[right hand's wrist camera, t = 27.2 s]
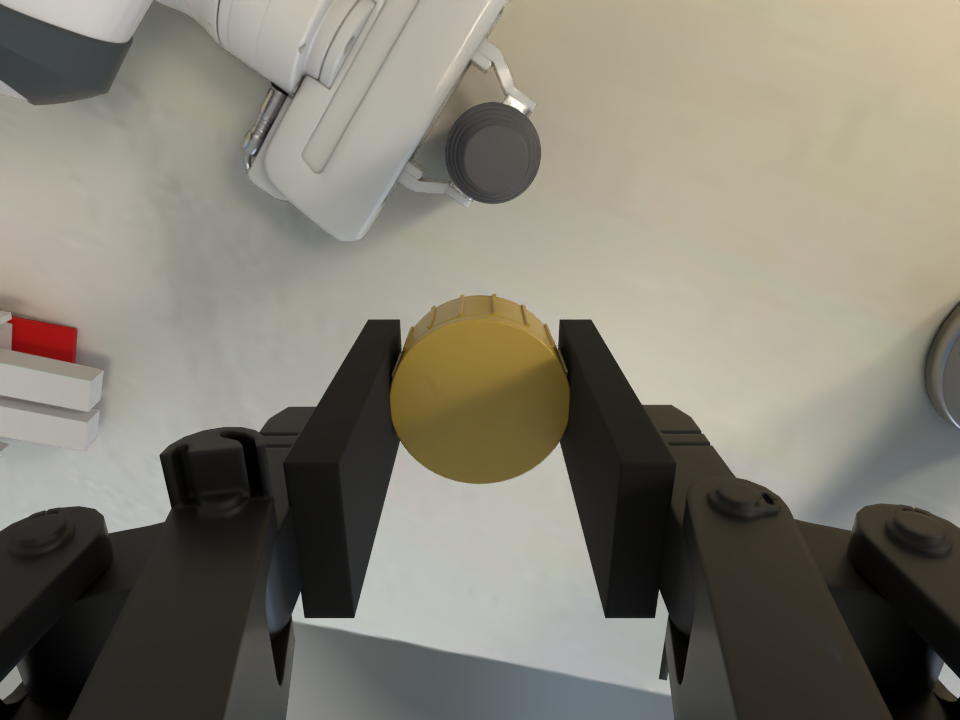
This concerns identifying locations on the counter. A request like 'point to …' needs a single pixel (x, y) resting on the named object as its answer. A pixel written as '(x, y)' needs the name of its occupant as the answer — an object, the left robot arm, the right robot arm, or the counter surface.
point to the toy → (45, 386)
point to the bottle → (493, 153)
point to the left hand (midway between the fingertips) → (501, 157)
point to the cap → (480, 390)
